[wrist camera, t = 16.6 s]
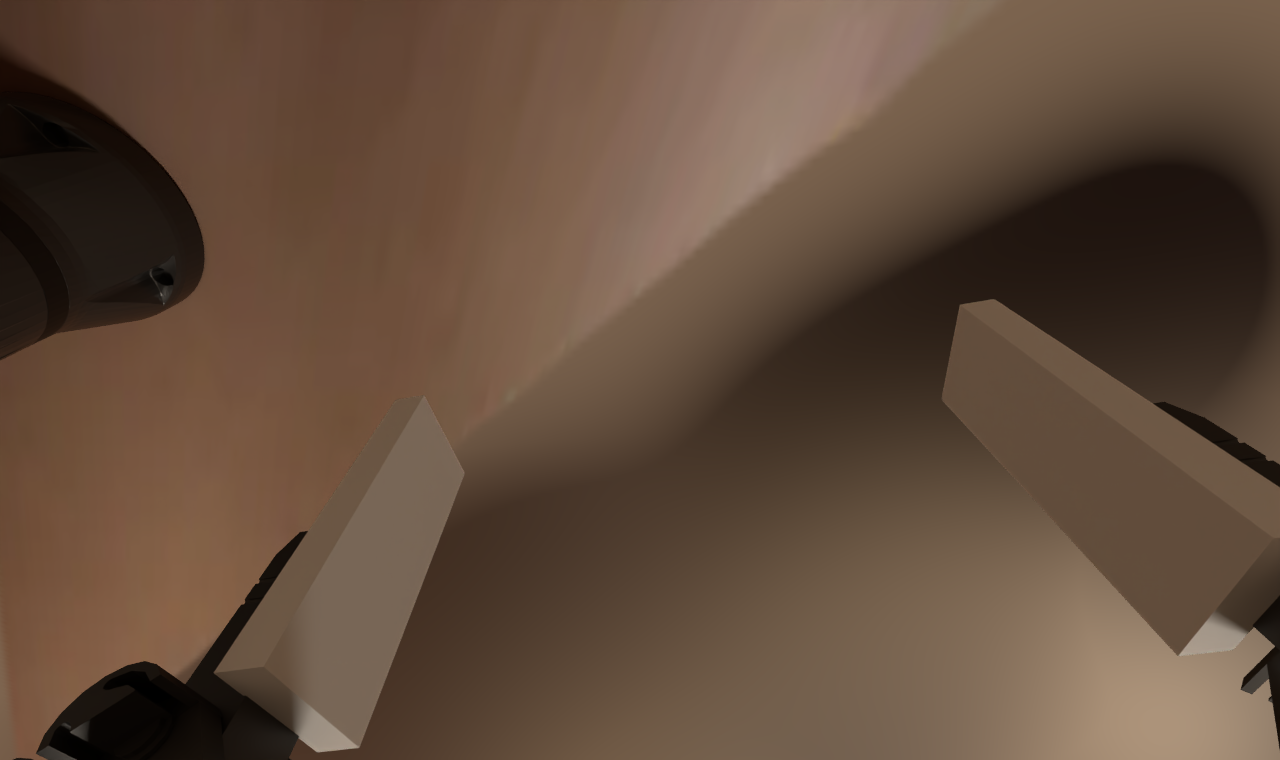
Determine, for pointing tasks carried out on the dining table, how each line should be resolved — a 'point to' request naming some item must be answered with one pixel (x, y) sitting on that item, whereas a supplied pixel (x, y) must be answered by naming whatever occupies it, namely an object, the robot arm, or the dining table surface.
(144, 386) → the dining table surface
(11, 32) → the dining table surface
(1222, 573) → the robot arm
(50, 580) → the dining table surface
